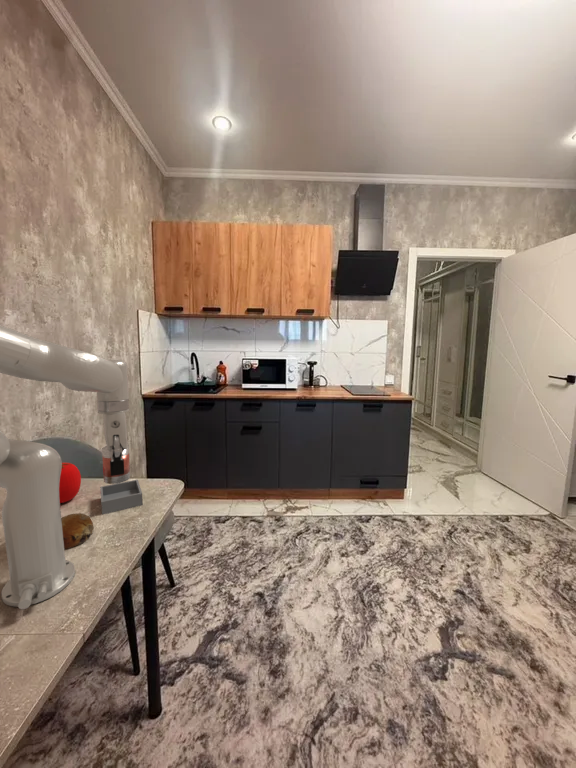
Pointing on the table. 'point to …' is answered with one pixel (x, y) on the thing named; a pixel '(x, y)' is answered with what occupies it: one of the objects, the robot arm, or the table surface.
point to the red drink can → (106, 466)
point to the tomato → (69, 482)
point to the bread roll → (76, 529)
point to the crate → (120, 496)
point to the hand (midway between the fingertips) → (116, 469)
